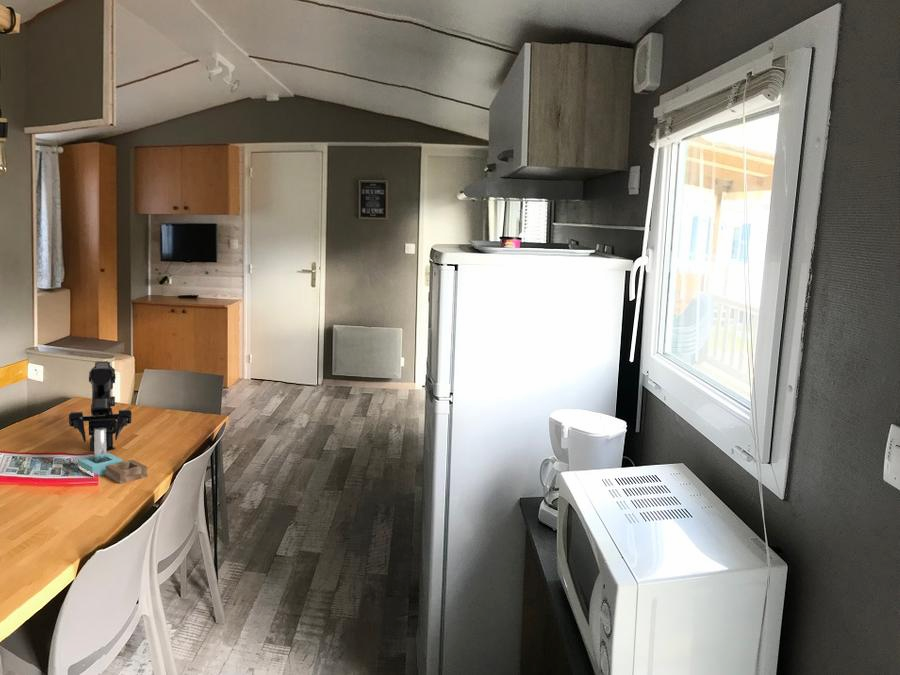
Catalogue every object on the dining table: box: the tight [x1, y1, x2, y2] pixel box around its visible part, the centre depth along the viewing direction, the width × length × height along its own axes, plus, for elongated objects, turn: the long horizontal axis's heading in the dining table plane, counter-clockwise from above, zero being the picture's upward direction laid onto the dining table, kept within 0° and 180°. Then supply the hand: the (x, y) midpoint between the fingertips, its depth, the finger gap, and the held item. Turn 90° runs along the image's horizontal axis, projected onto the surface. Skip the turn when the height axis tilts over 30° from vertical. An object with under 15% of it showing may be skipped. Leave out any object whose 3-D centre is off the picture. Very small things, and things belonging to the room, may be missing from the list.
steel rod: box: [93, 428, 107, 464], centre depth 218 cm, size 4×4×14 cm
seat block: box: [77, 452, 124, 477], centre depth 219 cm, size 10×10×4 cm
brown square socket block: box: [105, 458, 148, 484], centre depth 215 cm, size 9×9×4 cm
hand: (100, 440), depth 219 cm, fingers open, 9 cm apart
